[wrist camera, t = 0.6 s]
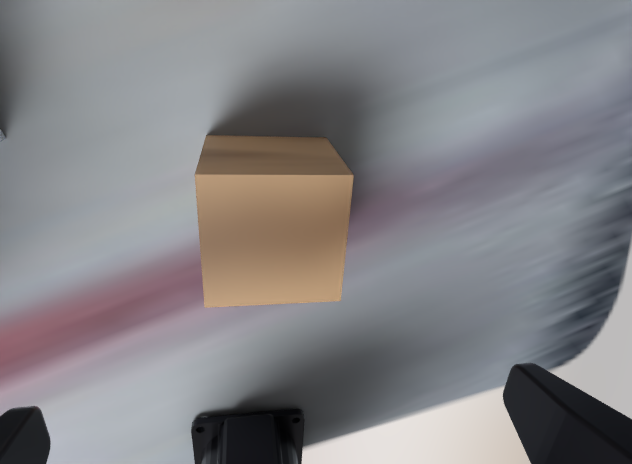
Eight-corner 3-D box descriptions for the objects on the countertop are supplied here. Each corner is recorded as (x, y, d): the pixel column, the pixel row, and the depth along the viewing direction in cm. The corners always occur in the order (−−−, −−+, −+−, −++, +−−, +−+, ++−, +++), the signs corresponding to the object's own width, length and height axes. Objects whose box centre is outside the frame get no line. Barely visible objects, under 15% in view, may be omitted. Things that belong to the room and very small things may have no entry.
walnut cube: (318, 239, 20) (340, 301, 16) (212, 241, 19) (204, 307, 15) (325, 137, 18) (353, 175, 13) (206, 134, 17) (194, 174, 13)
